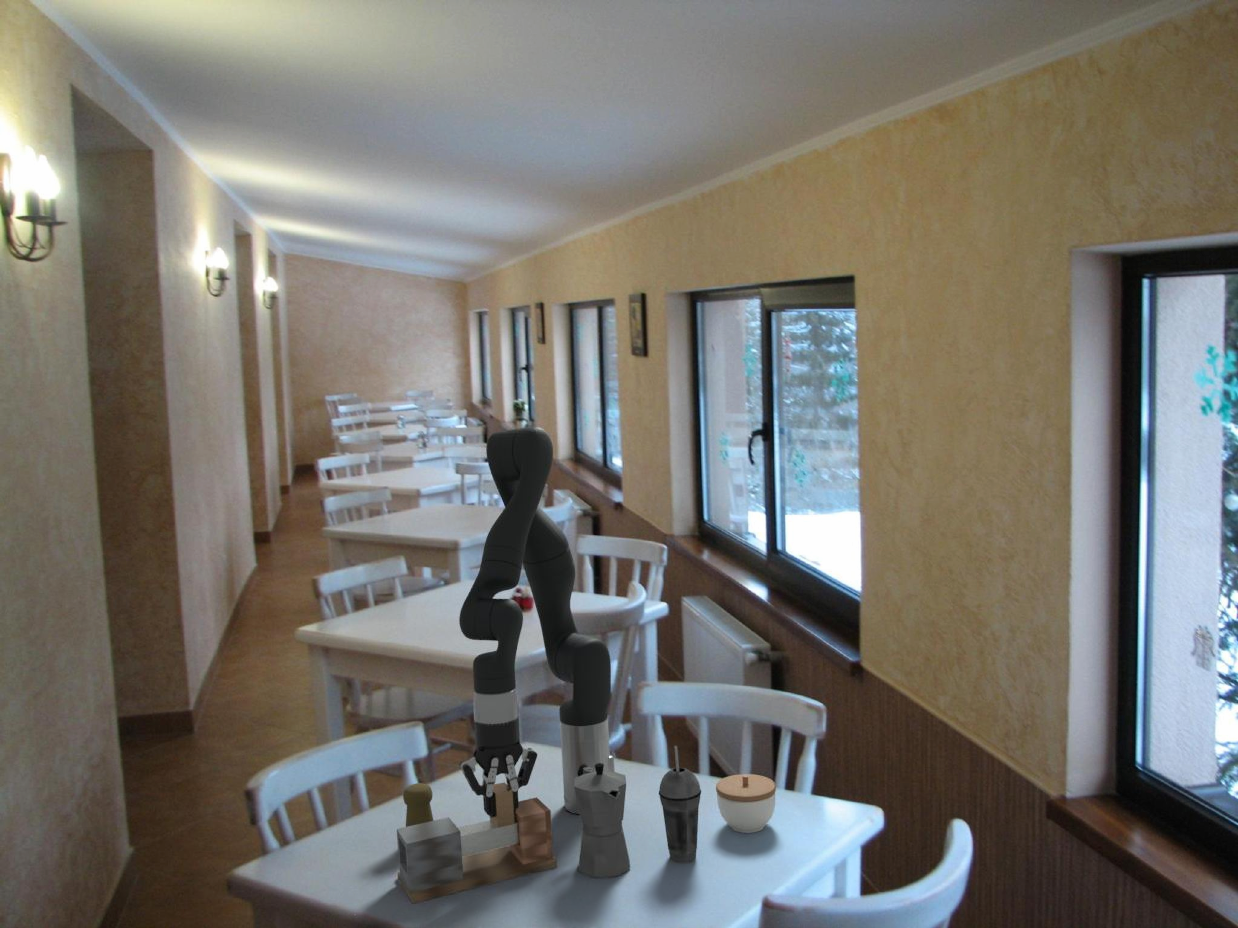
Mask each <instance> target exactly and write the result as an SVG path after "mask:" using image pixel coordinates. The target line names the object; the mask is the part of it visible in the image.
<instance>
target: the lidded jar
mask: <svg viewBox="0 0 1238 928" xmlns="http://www.w3.org/2000/svg"><path fill="white" fill-rule="evenodd" d="M776 786H777V785H776V783H775V782H774V780H772V779H770V778H769V777H766V776H763V775H759V774H752V773H751V774H749V773H742V774H741V773H740V774H734V775H729V776H725V777H723V778H721V779H720V780H718V781H717V783H716V786H715V792H716V798H717V800H716V801H717V805H718V809H719V813H720V815H721V817H722V819H723V820H724V822H725V823H726V824H728V826H730V828H731V829H732V830H733V831H734V832H737V833H741V834H753V833H758V832H760V831H762V830H764V828H765V826H766V825H768V823H769V822H770V820H771V819H772V817H773V814H774V812H775V806H776V791H777V789H776Z"/></svg>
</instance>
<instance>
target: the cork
mask: <svg viewBox="0 0 1238 928" xmlns="http://www.w3.org/2000/svg"><path fill="white" fill-rule="evenodd" d="M433 796H434V795H433V790H432V788H431V786H430V785H428V784H427V783H421V782H420V783H419V782H418V783H413V784H410V785H408V786H407V787H406V788H405V789H404V791H403V794H402V798H403V799H402V800H403V802H404V804H405V806H406V817H405V827H408V826H413V825H417V824H421V823H426V822H430V821H435V820H434V816H433V812H432V807H431V802H432V800H433Z"/></svg>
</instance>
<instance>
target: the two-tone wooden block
mask: <svg viewBox="0 0 1238 928" xmlns="http://www.w3.org/2000/svg"><path fill="white" fill-rule="evenodd" d="M493 796H494V803H495V817H492V818H491V817H490V816H489V820H484V821H480V822H476V823H472V824H468V825H463V826H460V827H459V826H458V827H457V828H458V829H459V830H460V834H461V849H462V857H465V856H469V855H473V854H477V853H481V852H485V851H489V850H493V849H498V848H502V847H506V846H510V845H513V844H518V843H520V836H519V821H518V820H517V819H516V818H515V817H514V808H513V792H512V789H511V788H510V787H509V786H508V785H507V782H506V781H505V782H504V781H503V782H501V783H500V782H499V783H496V784H494V789H493Z"/></svg>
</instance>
